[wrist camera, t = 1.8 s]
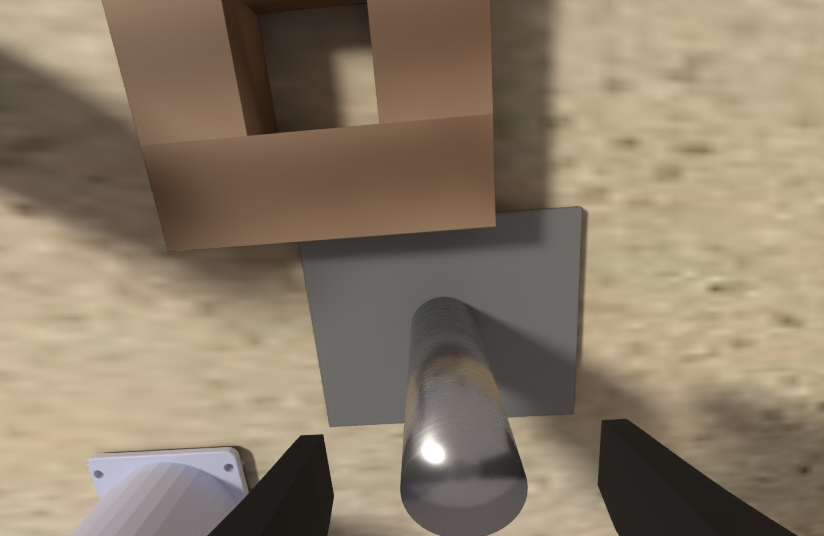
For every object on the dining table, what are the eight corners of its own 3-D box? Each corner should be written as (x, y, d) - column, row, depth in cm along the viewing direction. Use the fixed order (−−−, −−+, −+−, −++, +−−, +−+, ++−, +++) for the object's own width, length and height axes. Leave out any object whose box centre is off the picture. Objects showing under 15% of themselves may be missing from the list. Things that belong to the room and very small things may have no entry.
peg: (478, 354, 18) (527, 536, 10) (413, 358, 18) (405, 541, 10) (475, 294, 17) (527, 434, 9) (408, 299, 18) (394, 441, 9)
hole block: (483, 213, 17) (495, 226, 14) (210, 234, 17) (168, 251, 15) (471, -136, 13) (485, -214, 11) (133, -95, 14) (59, -159, 11)
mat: (571, 408, 19) (574, 413, 19) (331, 421, 20) (329, 426, 20) (578, 206, 17) (581, 207, 16) (299, 227, 17) (296, 229, 17)
